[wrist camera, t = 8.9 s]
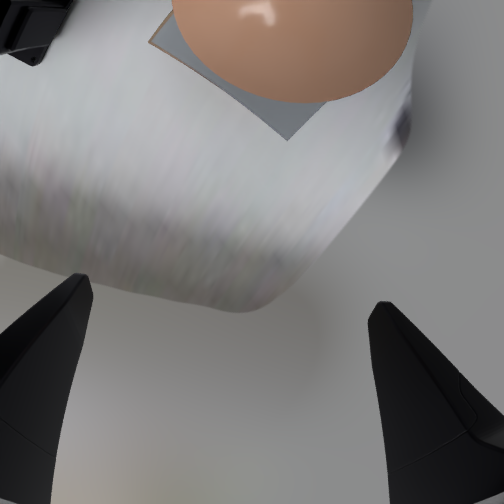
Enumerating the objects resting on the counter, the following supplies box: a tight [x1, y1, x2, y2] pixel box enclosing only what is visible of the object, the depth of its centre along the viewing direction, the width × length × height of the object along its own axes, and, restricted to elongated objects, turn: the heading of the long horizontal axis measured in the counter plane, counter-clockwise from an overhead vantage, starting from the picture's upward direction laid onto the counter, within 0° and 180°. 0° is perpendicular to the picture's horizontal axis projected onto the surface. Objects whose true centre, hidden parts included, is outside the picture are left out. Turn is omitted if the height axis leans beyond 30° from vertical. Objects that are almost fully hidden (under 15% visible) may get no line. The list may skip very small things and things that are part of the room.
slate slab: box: [151, 14, 327, 141], centre depth 10 cm, size 6×6×4 cm
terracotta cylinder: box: [172, 0, 413, 103], centre depth 6 cm, size 5×5×5 cm
